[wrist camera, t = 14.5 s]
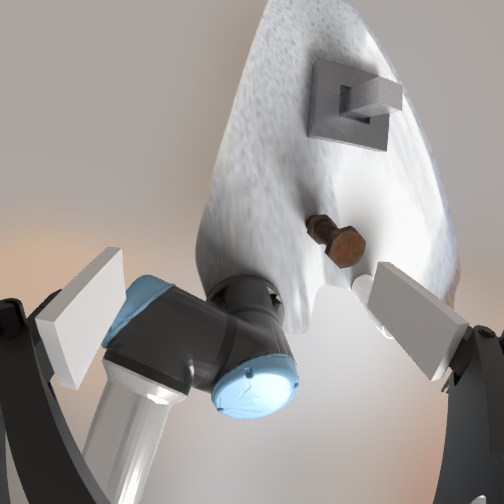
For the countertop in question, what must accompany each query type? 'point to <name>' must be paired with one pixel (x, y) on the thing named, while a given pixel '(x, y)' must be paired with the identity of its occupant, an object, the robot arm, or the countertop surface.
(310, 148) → the countertop surface
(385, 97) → the peg
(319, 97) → the socket block
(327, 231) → the bolt
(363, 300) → the drinking glass
